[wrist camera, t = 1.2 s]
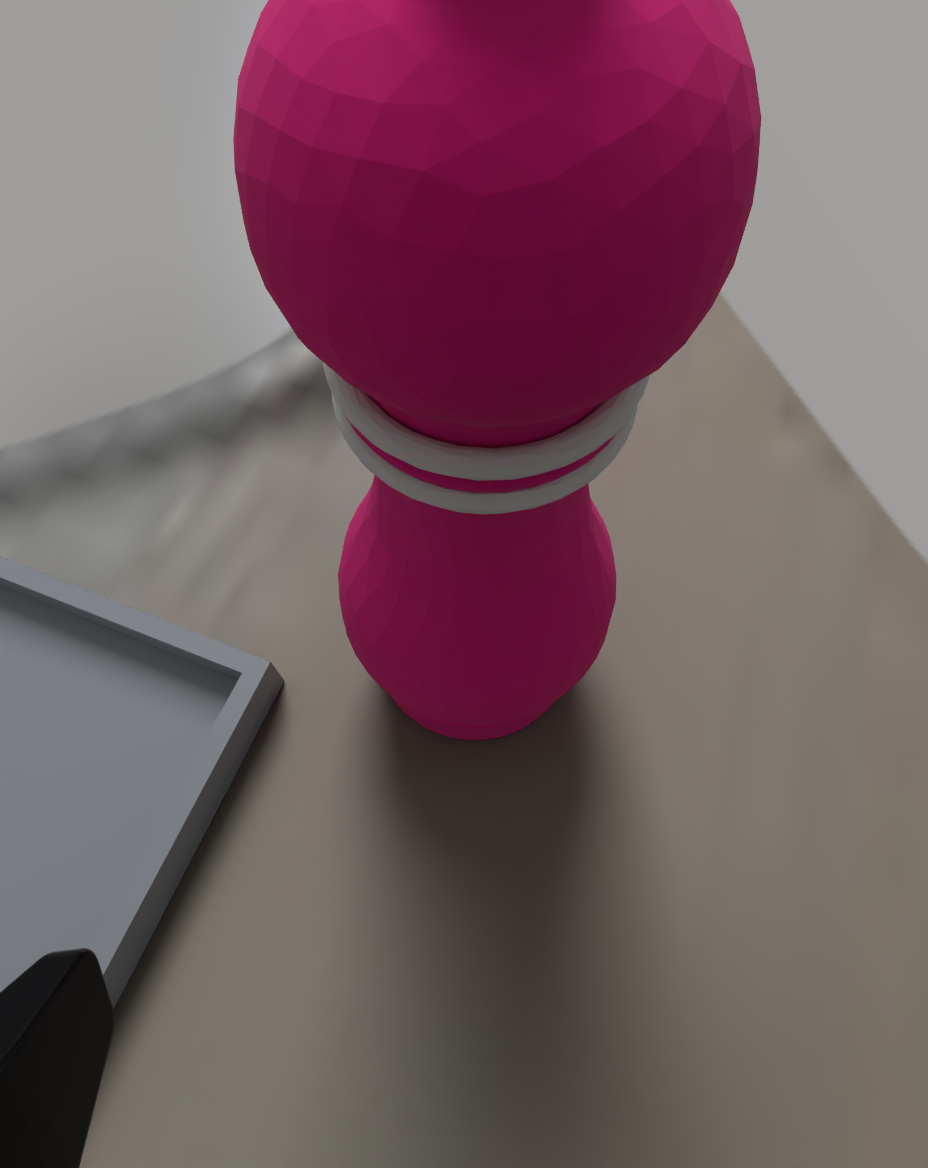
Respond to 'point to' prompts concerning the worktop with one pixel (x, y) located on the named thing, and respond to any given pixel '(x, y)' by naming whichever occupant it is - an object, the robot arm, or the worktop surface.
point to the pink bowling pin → (490, 298)
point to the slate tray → (107, 766)
